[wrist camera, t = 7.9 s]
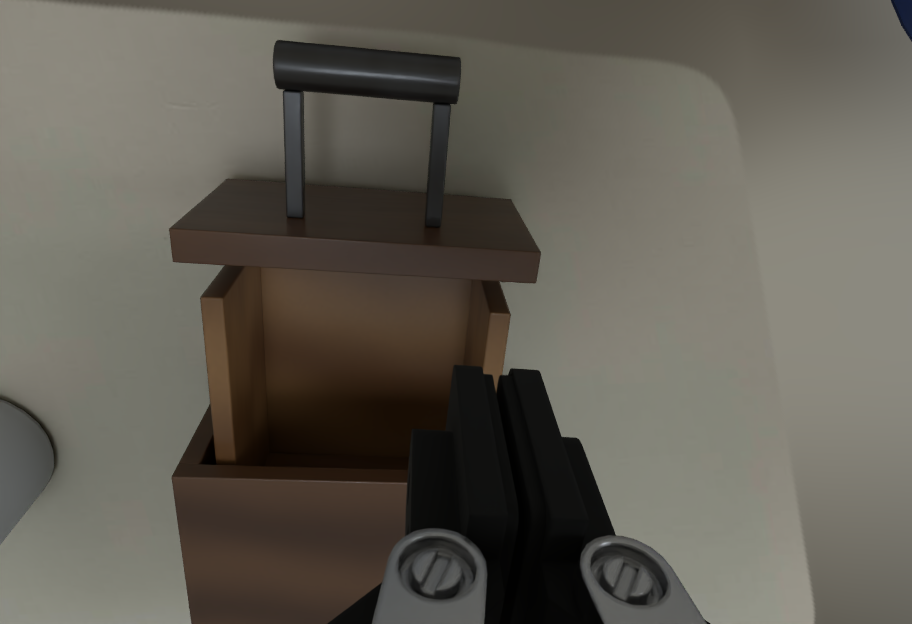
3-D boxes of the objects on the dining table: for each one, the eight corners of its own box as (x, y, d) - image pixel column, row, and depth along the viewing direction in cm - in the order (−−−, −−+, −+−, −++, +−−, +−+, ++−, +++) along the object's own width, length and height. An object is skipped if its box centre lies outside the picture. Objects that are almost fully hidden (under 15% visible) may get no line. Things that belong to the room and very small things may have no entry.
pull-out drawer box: (216, 28, 24) (146, 31, 17) (529, 58, 25) (570, 71, 19) (245, 450, 32) (205, 554, 26) (477, 457, 34) (492, 558, 27)
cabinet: (232, 360, 31) (171, 476, 23) (496, 371, 32) (524, 486, 24) (248, 580, 38) (205, 729, 30) (467, 582, 39) (482, 725, 31)
